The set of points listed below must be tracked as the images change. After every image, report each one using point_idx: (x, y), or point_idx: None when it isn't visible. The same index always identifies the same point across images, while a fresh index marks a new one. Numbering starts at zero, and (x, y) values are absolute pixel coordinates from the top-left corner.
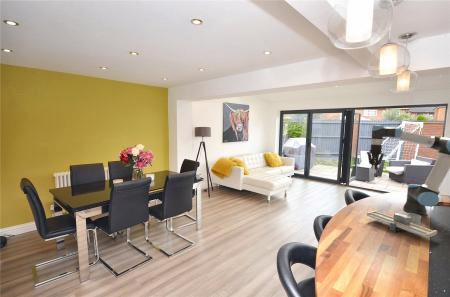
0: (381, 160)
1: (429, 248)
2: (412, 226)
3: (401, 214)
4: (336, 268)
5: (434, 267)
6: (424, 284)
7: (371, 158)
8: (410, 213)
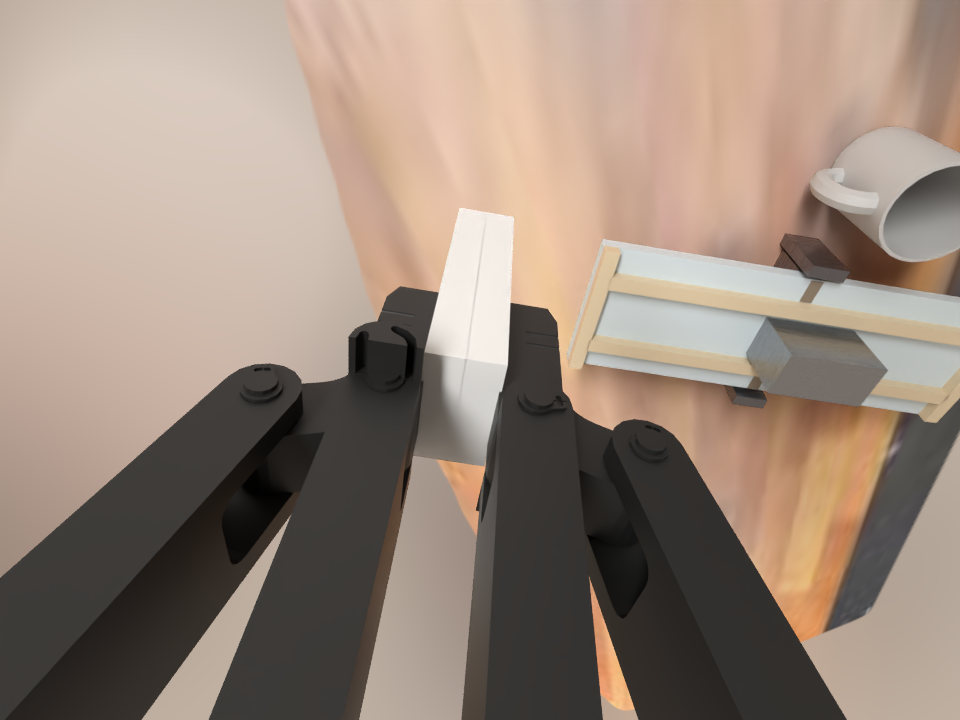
0: (793, 683)
1: (901, 419)
2: (867, 341)
3: (822, 367)
4: (618, 665)
5: (875, 538)
6: (822, 615)
7: (103, 625)
8: (911, 184)
